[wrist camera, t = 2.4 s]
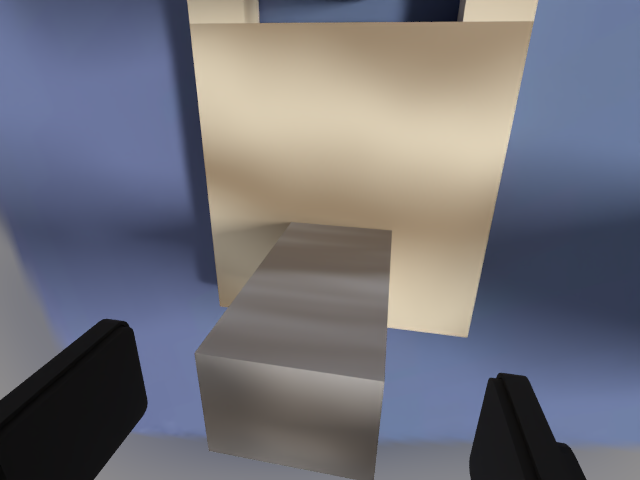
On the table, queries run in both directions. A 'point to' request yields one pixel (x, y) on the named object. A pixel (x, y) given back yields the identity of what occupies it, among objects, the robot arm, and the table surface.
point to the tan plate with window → (342, 211)
